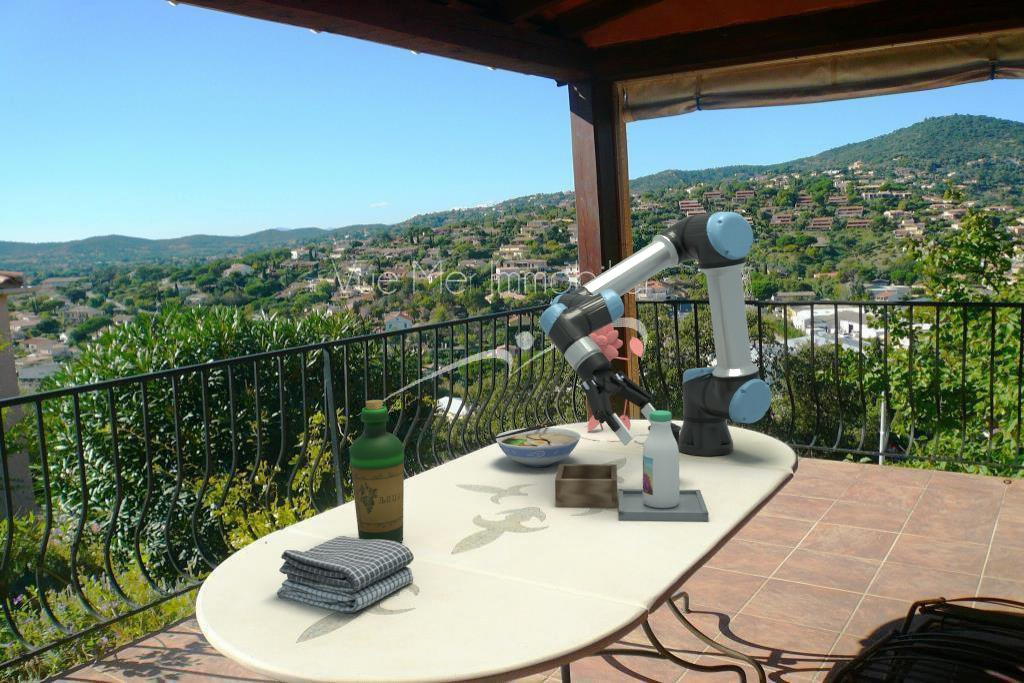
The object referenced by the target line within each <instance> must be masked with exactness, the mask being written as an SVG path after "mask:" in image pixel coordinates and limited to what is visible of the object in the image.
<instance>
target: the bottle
mask: <svg viewBox="0 0 1024 683" xmlns="http://www.w3.org/2000/svg"><path fill="white" fill-rule="evenodd" d="M383 401H384V400H382V399H371V400H366V401H365V407H362V410H361V417H360V422H363V425H364V431H365V432H364V433H363V434H361V435H360V436H359V437H357V438H355V440H353V441H352V444H350V447H349V448H348V453H349V461H350V471H351V480H352V481H351V482H352V490H353V496H354V507H355V508H354V509H355V516H356V524H357V533H358V534H357V535H358V539H365V540H366V539H370V540H371V539H379V540H380V539H382V540H389V541H396V542H399V543H400V544H401V543H402V542H403V541H404V494H405V493H404V492H405V491H404V490H405V486H404V484H405V483H404V482H405V481H404V480H405V475H404V474H405V469H404V468H405V447H404V444H403V443H402V441H401V440H400V439H399V438H398V437H397V436H396V435H395V434H392V433H391V432H388V431H387V421H388V420H390V417H389V413H388V408H387V406H384V405H383V403H384V402H383Z"/></svg>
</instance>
